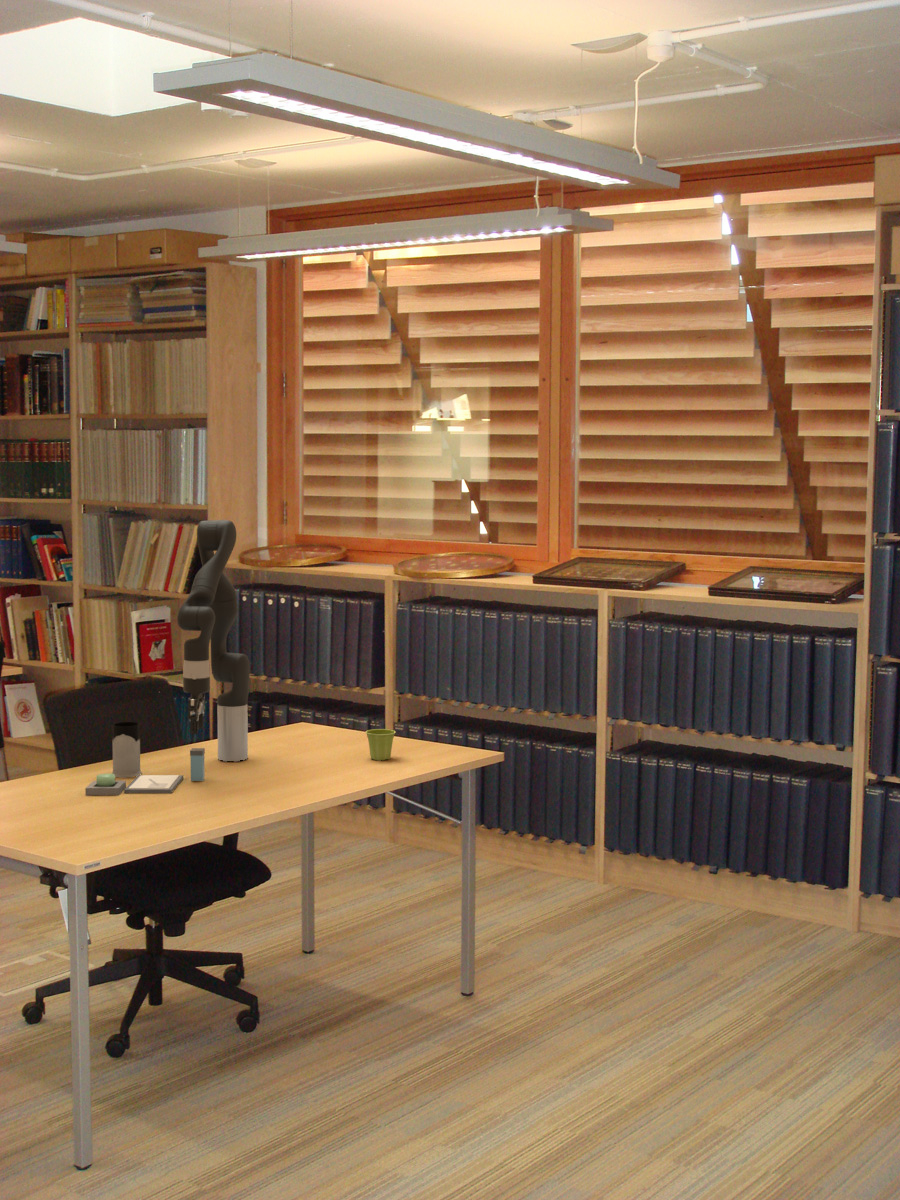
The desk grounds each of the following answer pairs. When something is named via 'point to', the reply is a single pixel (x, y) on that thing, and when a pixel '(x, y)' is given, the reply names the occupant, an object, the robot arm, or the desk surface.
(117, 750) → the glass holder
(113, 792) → the button housing
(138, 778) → the whiteboard
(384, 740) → the plant pot
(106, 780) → the button
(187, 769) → the desk surface
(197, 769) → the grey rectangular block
